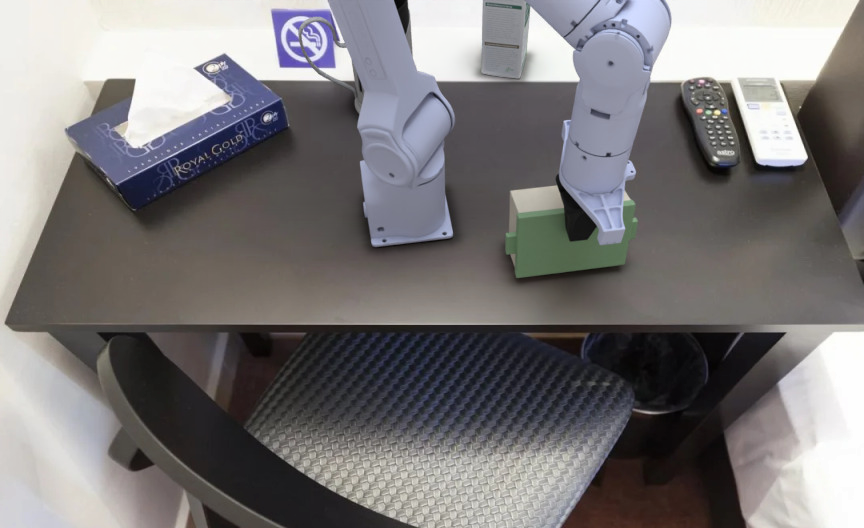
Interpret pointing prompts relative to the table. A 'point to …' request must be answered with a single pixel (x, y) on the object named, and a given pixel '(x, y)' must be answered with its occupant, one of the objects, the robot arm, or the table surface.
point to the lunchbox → (557, 236)
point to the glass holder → (404, 16)
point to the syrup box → (504, 37)
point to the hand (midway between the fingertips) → (577, 235)
